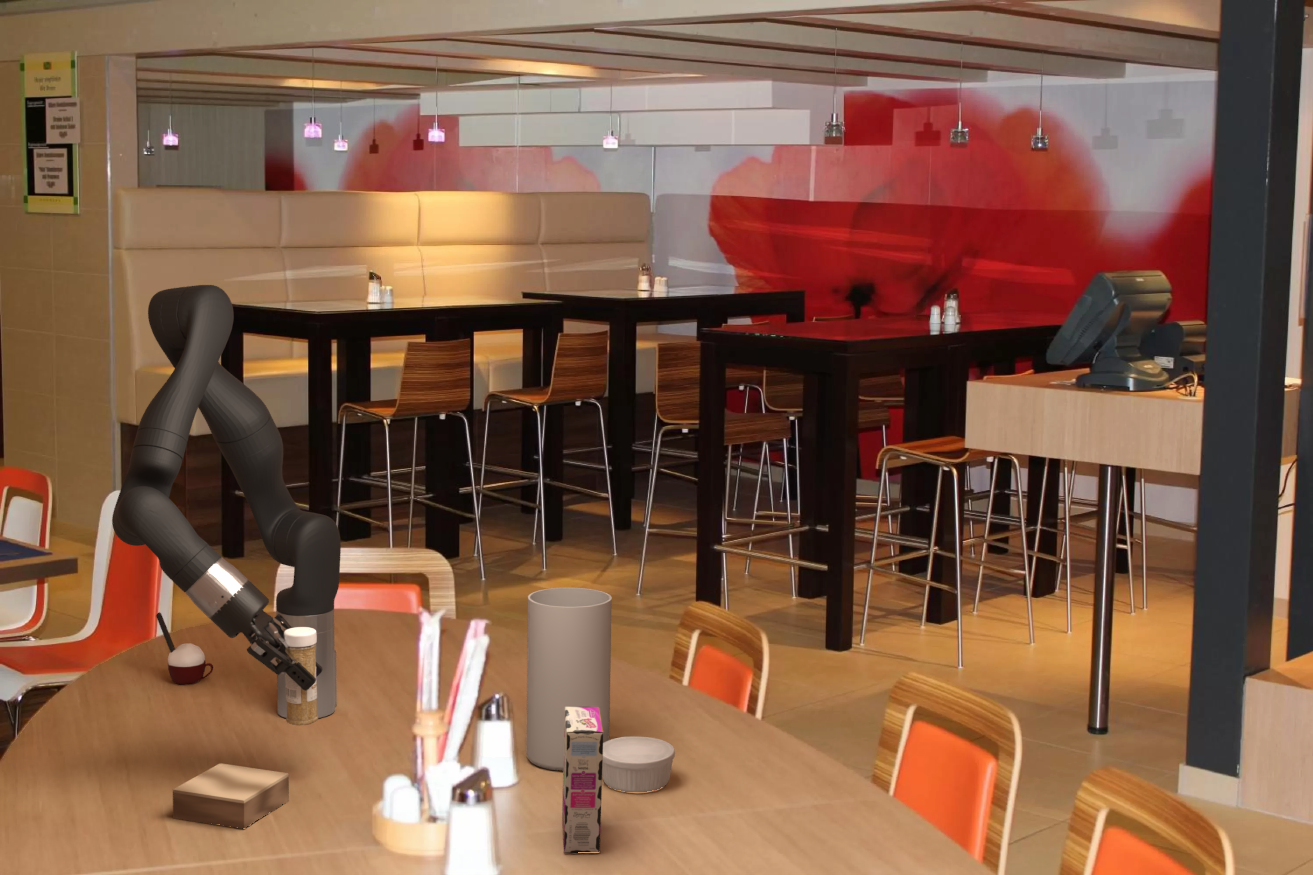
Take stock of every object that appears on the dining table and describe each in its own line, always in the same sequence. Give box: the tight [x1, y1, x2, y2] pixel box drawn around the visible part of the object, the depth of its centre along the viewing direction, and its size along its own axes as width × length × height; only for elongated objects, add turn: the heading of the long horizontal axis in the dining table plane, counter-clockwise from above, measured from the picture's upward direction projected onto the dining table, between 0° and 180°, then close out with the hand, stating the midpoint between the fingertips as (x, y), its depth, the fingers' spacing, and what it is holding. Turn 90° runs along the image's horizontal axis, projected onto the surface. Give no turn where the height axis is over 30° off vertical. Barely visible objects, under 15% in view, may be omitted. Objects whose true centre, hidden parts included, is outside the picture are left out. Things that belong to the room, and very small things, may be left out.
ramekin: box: [602, 736, 676, 792], centre depth 225 cm, size 11×11×5 cm
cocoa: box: [155, 611, 214, 686], centre depth 269 cm, size 10×6×12 cm, turn 68°
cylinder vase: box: [525, 587, 613, 772], centre depth 233 cm, size 12×12×25 cm
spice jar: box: [284, 627, 319, 726], centre depth 221 cm, size 5×5×13 cm
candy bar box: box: [561, 707, 603, 854], centre depth 203 cm, size 11×5×16 cm, turn 5°
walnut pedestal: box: [172, 762, 290, 829], centre depth 211 cm, size 11×11×4 cm
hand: (314, 679), depth 221 cm, fingers closed on spice jar, 4 cm apart
